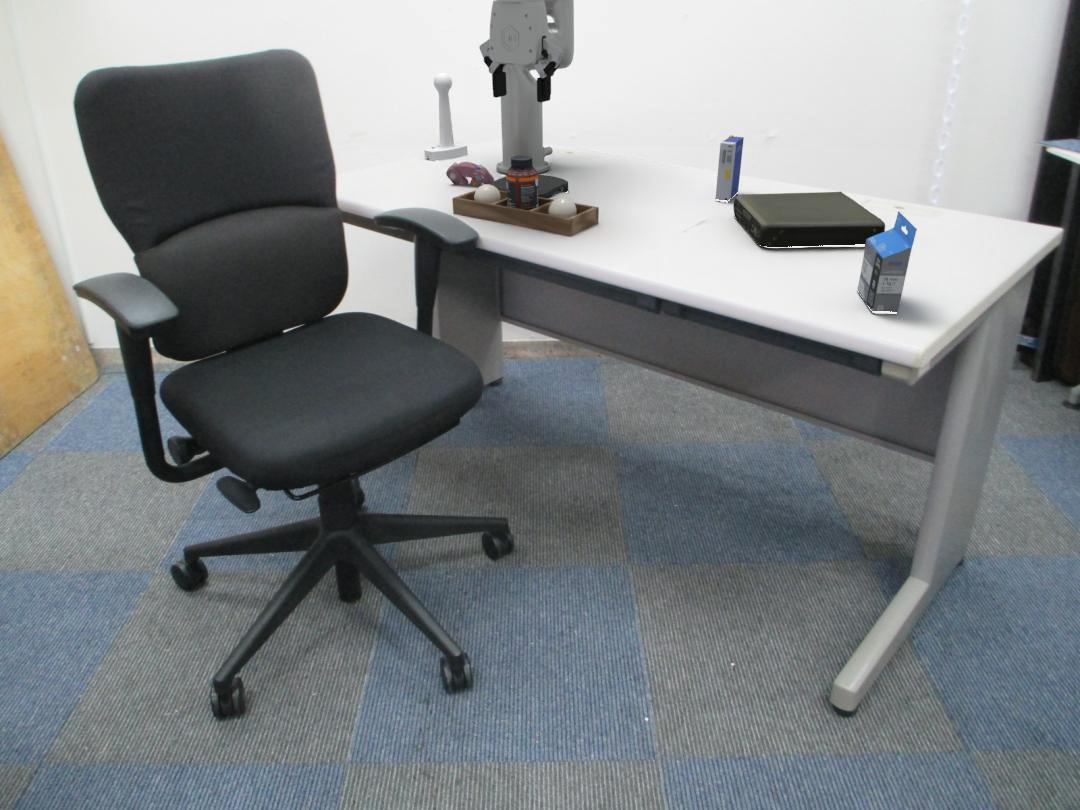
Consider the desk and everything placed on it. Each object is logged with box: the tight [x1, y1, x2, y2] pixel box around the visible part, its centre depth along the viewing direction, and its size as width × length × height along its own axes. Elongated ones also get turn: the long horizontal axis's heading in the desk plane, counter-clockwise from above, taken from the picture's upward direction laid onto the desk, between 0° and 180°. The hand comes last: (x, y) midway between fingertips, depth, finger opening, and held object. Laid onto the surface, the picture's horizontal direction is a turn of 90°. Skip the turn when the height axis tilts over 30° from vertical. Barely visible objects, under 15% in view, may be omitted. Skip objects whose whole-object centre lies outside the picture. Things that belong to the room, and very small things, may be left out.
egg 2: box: [548, 196, 577, 218], centre depth 150 cm, size 5×5×5 cm
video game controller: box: [446, 161, 495, 187], centre depth 179 cm, size 10×5×7 cm, turn 69°
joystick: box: [423, 72, 468, 162], centre depth 204 cm, size 11×8×20 cm
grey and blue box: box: [857, 210, 918, 313], centre depth 116 cm, size 9×4×12 cm, turn 175°
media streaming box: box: [490, 173, 569, 199], centre depth 175 cm, size 15×15×3 cm
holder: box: [452, 189, 600, 238], centre depth 156 cm, size 10×27×4 cm, turn 55°
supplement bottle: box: [505, 155, 539, 211], centre depth 154 cm, size 6×6×11 cm
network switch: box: [732, 191, 886, 247], centre depth 148 cm, size 23×23×5 cm
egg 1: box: [474, 184, 501, 204], centre depth 159 cm, size 5×5×5 cm
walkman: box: [715, 135, 744, 201], centre depth 167 cm, size 8×3×12 cm, turn 153°
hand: (521, 98), depth 146 cm, fingers open, 9 cm apart
